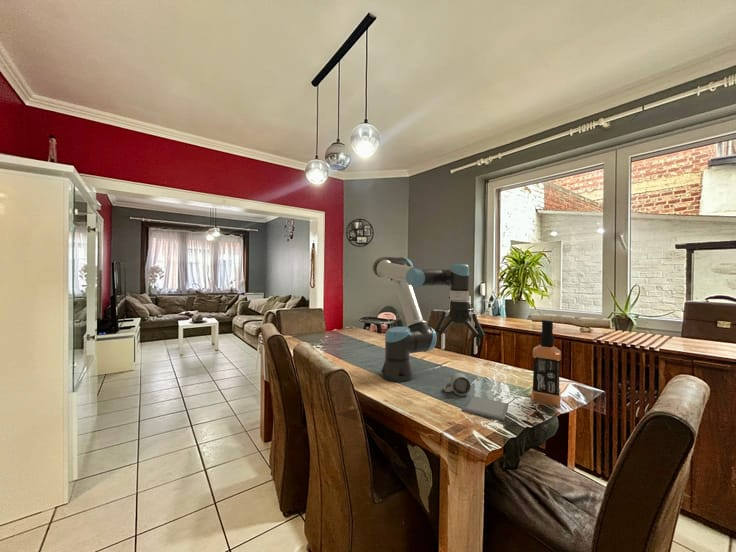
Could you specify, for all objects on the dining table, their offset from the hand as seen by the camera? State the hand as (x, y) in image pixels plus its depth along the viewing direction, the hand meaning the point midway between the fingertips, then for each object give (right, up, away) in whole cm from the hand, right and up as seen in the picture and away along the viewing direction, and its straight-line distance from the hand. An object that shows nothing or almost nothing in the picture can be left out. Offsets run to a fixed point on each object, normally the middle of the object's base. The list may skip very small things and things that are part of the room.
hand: (458, 351), depth 129 cm
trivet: (+6, -18, -15) cm, 24 cm away
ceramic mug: (-1, -18, 0) cm, 18 cm away
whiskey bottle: (+33, -18, -7) cm, 38 cm away
